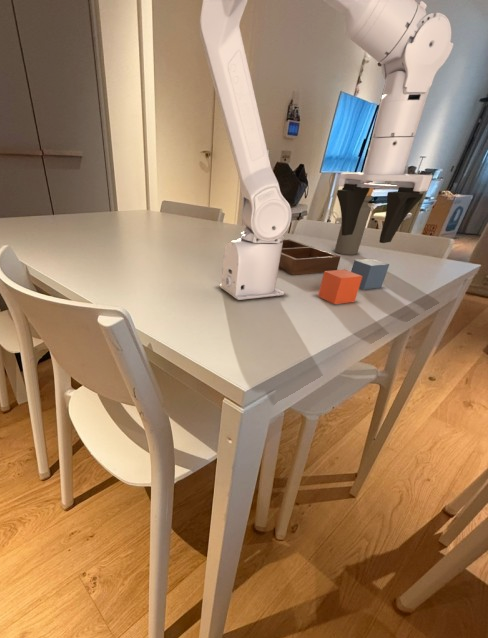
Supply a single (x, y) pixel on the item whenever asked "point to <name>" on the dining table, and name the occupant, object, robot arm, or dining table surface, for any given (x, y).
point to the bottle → (352, 242)
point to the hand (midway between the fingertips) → (365, 238)
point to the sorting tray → (305, 259)
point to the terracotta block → (340, 286)
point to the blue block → (370, 272)
